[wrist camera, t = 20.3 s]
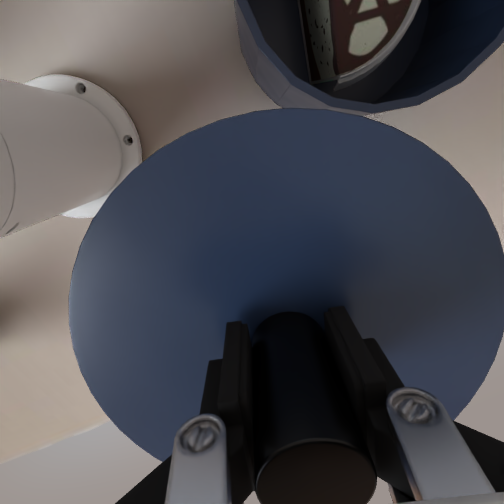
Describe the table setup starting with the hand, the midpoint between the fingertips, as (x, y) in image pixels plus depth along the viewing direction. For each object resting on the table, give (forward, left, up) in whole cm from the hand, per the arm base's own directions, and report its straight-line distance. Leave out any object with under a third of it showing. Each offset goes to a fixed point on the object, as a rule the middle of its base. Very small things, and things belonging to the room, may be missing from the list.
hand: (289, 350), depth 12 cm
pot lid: (0, 0, -1) cm, 1 cm away
